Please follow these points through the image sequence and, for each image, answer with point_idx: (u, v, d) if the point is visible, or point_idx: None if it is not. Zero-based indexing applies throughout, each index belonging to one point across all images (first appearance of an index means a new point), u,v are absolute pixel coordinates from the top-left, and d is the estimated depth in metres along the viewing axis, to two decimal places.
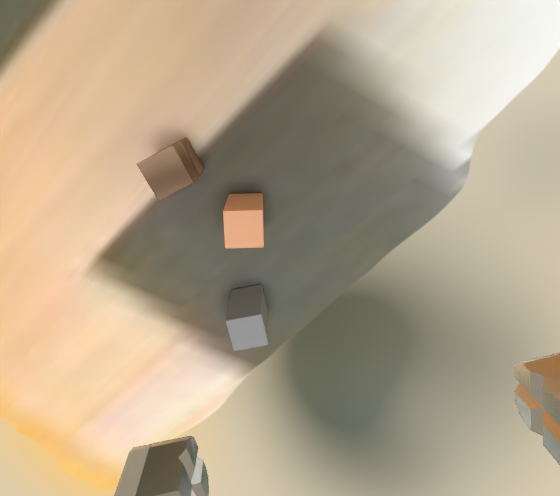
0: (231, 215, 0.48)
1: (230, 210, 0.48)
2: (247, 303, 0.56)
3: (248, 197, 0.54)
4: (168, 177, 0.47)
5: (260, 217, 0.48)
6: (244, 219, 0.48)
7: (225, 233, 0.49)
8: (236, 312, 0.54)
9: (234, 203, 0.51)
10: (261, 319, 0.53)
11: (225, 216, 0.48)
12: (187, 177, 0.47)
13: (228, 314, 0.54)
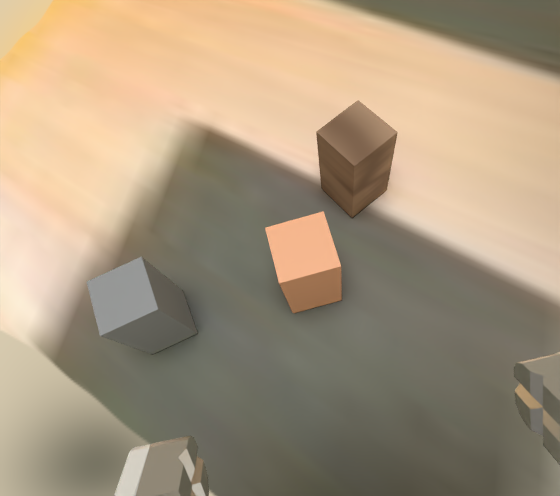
0: (319, 224, 0.31)
1: (326, 222, 0.31)
2: (169, 299, 0.34)
3: None
4: (351, 137, 0.33)
5: (328, 266, 0.30)
6: (318, 243, 0.30)
7: (289, 222, 0.31)
8: (154, 276, 0.33)
9: None
10: (148, 312, 0.30)
11: (316, 216, 0.31)
12: (359, 157, 0.33)
13: (150, 265, 0.33)
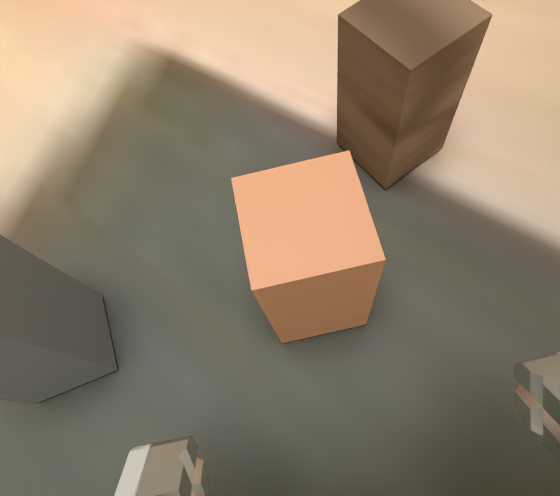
0: (341, 174, 0.15)
1: None
2: (52, 311, 0.18)
3: None
4: (403, 22, 0.18)
5: (357, 259, 0.14)
6: (337, 212, 0.15)
7: (279, 169, 0.16)
8: (17, 267, 0.17)
9: None
10: None
11: (334, 159, 0.16)
12: (419, 56, 0.17)
13: (13, 246, 0.18)
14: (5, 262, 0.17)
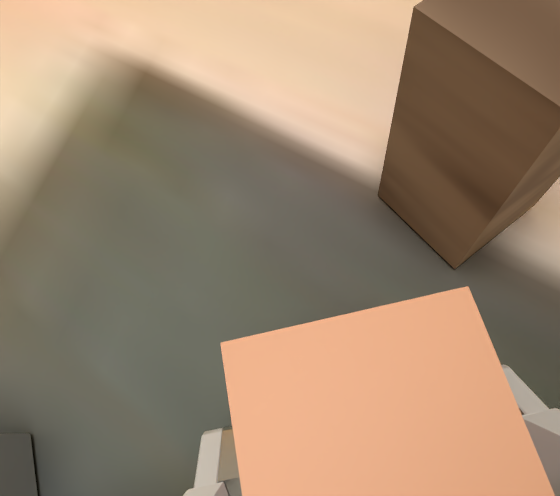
0: (458, 345, 0.07)
1: None
2: None
3: None
4: (539, 20, 0.10)
5: None
6: (460, 446, 0.06)
7: (321, 326, 0.07)
8: None
9: None
10: None
11: (438, 307, 0.07)
12: None
13: None
14: None
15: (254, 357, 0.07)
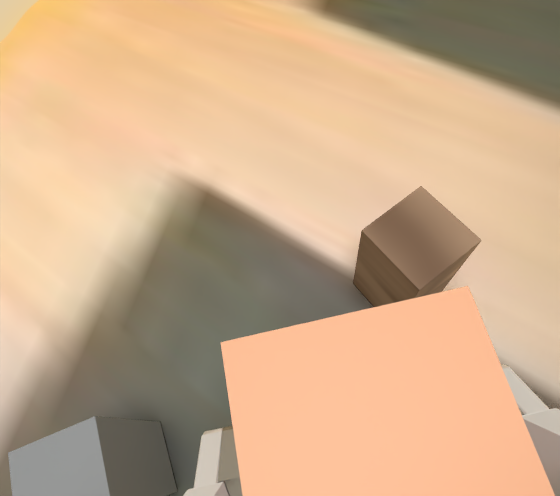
0: (457, 344, 0.07)
1: None
2: (137, 465, 0.23)
3: None
4: (413, 242, 0.23)
5: None
6: (460, 445, 0.06)
7: (321, 326, 0.07)
8: (115, 439, 0.22)
9: None
10: None
11: (438, 306, 0.07)
12: (425, 277, 0.22)
13: (110, 421, 0.22)
14: (108, 441, 0.21)
15: (254, 357, 0.07)
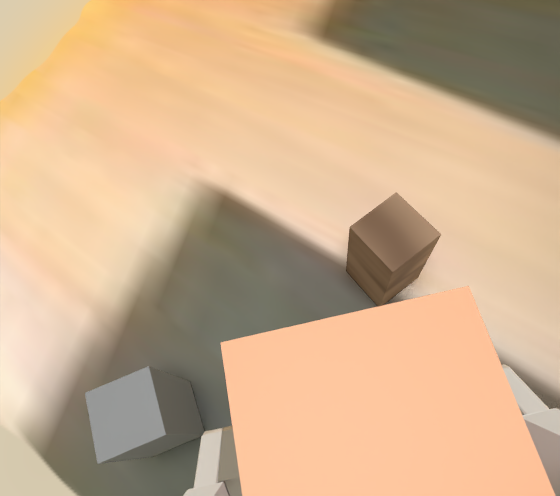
0: (458, 345, 0.07)
1: None
2: (177, 407, 0.31)
3: None
4: (389, 236, 0.30)
5: None
6: (461, 446, 0.06)
7: (321, 326, 0.07)
8: (162, 385, 0.29)
9: None
10: (154, 437, 0.26)
11: (438, 307, 0.07)
12: (397, 262, 0.29)
13: (158, 372, 0.30)
14: (158, 385, 0.29)
15: (254, 357, 0.07)
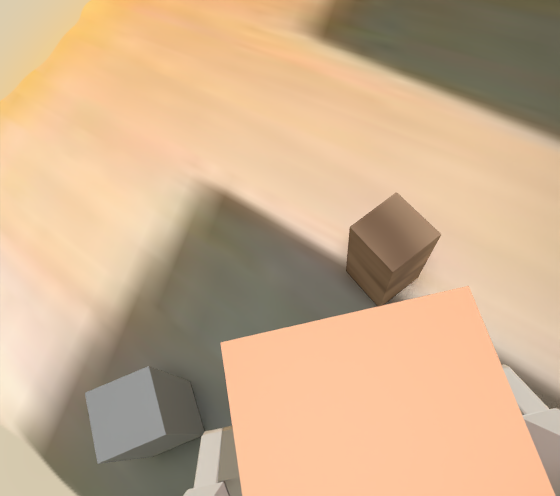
0: (458, 344, 0.07)
1: None
2: (177, 407, 0.31)
3: None
4: (389, 236, 0.30)
5: None
6: (460, 446, 0.06)
7: (321, 326, 0.07)
8: (162, 385, 0.29)
9: None
10: (154, 437, 0.26)
11: (438, 307, 0.07)
12: (398, 262, 0.29)
13: (158, 372, 0.30)
14: (158, 385, 0.29)
15: (254, 357, 0.07)
